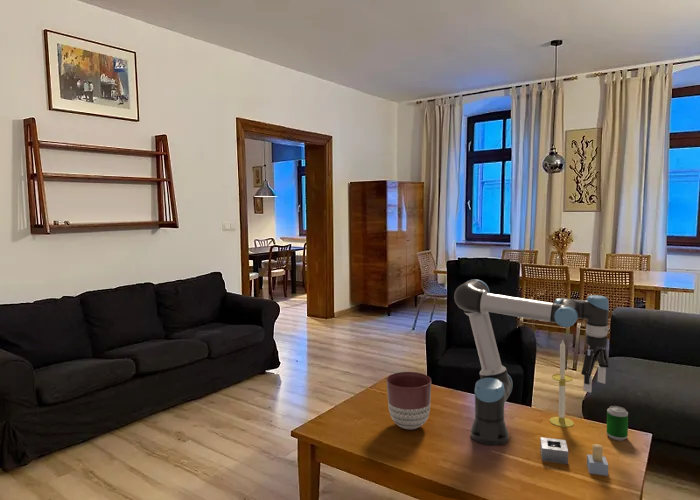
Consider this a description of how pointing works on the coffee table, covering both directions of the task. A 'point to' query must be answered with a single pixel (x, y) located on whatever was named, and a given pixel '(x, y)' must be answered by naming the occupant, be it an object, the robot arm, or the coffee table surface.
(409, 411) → the planter
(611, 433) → the soda can
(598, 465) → the blue-gray block
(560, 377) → the candle
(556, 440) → the grey hollow block
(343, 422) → the coffee table surface
